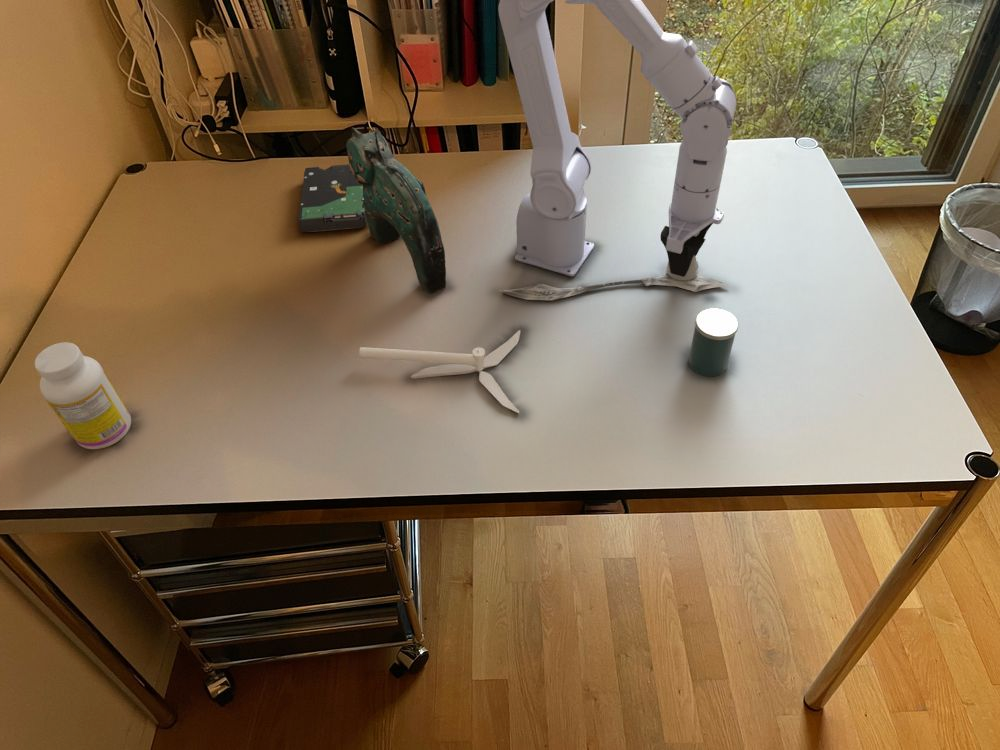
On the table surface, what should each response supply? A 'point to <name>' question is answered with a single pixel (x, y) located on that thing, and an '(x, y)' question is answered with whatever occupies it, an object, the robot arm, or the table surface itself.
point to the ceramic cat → (397, 206)
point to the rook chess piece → (691, 272)
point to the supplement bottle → (82, 396)
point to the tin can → (712, 341)
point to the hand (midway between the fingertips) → (683, 264)
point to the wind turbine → (453, 363)
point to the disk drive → (331, 200)
